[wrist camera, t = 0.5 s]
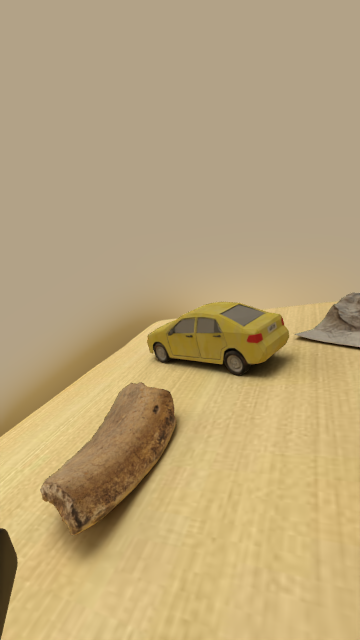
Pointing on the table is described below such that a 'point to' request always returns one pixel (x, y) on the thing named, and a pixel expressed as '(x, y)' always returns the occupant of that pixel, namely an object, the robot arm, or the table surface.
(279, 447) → the table surface
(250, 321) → the toy car
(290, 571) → the table surface
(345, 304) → the terrain model
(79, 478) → the fossil
